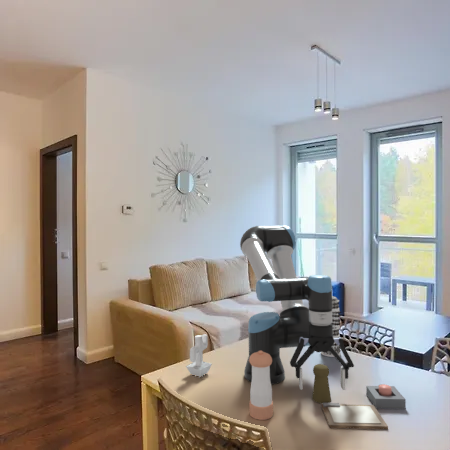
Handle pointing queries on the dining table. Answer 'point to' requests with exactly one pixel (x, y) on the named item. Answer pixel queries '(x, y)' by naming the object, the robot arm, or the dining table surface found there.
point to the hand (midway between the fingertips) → (321, 388)
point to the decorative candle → (334, 326)
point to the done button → (385, 390)
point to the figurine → (198, 357)
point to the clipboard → (353, 416)
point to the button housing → (386, 398)
